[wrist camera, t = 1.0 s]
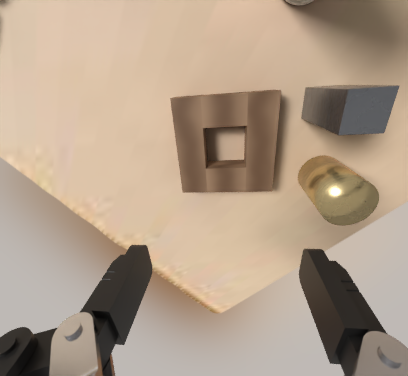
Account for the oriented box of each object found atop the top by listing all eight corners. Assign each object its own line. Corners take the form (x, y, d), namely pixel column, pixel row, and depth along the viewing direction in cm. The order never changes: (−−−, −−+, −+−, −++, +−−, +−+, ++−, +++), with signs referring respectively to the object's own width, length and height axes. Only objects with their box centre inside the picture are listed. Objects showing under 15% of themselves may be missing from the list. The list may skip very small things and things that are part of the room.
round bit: (345, 154, 31) (386, 179, 23) (336, 192, 34) (369, 225, 26) (300, 156, 32) (325, 180, 24) (295, 192, 35) (315, 225, 27)
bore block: (275, 89, 28) (281, 90, 25) (267, 181, 34) (272, 191, 31) (176, 97, 30) (170, 98, 27) (186, 183, 36) (182, 192, 33)
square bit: (337, 85, 27) (399, 85, 17) (330, 116, 29) (384, 133, 19) (305, 87, 27) (348, 89, 18) (301, 118, 29) (338, 135, 20)
